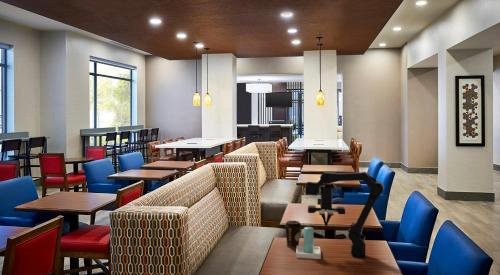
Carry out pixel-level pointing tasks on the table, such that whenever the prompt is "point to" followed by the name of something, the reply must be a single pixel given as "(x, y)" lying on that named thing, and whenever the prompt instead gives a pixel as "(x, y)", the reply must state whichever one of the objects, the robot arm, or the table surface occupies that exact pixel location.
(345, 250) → the table surface
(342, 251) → the table surface
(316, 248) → the tray
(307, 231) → the teal cylinder
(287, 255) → the table surface
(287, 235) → the coffee cup
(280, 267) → the table surface
